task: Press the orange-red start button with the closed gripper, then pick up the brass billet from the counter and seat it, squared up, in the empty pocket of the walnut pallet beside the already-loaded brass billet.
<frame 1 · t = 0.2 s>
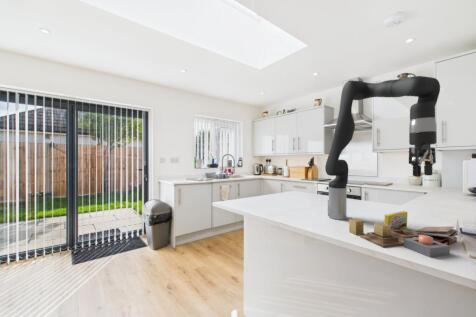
hand: (422, 175, 77), 27 cm above the countertop, fingers open, 8 cm apart
button housing: (425, 250, 77), on the countertop
start button: (425, 241, 78), point 3 cm above the countertop, slide at 0.0 cm
candy box: (395, 231, 99), on the countertop
billet: (356, 233, 96), on the countertop
loaded billet: (382, 240, 87), resting on pallet
pallet: (393, 239, 88), on the countertop
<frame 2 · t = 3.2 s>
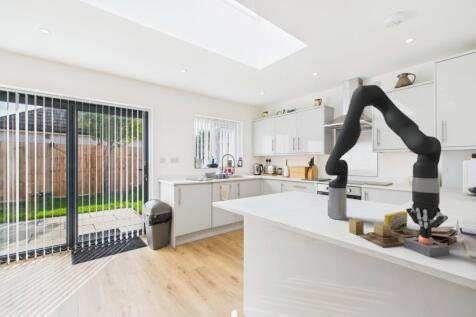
hand: (425, 237, 77), 5 cm above the countertop, fingers closed
start button: (425, 242, 78), point 3 cm above the countertop, slide at 0.2 cm, touching gripper
everything else where it was.
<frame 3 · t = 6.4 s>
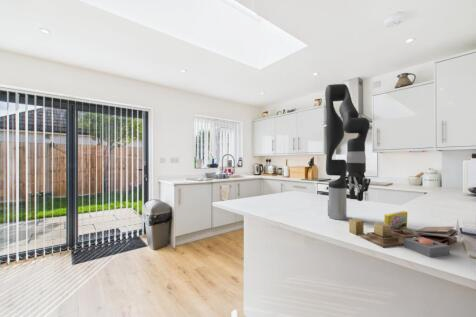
hand: (356, 199, 96), 15 cm above the countertop, fingers open, 4 cm apart
start button: (425, 244, 77), point 2 cm above the countertop, slide at 1.2 cm
everything else where it was.
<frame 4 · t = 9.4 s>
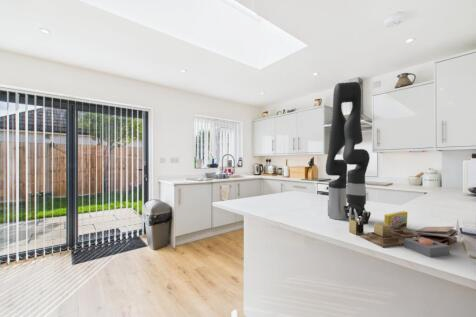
hand: (356, 230, 96), 1 cm above the countertop, fingers closed on billet, 4 cm apart
billet: (356, 233, 96), on the countertop, touching gripper
everything else where it was.
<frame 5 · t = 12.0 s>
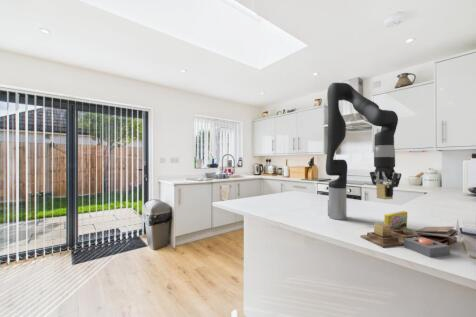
hand: (384, 195, 91), 18 cm above the countertop, fingers closed on billet, 4 cm apart
billet: (384, 198, 91), point 17 cm above the countertop, touching gripper
everything else where it was.
when the fingers open (3 cm above the countertop, at t = 14.8 s): billet drops 2 cm, resting on pallet.
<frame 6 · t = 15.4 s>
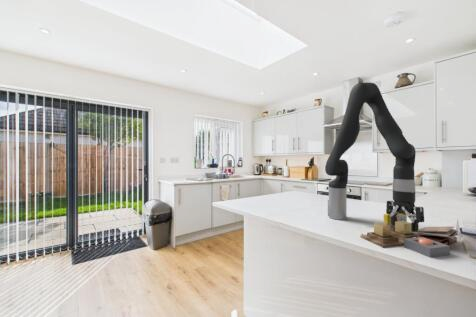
hand: (403, 228, 89), 4 cm above the countertop, fingers open, 8 cm apart
candy box: (395, 230, 99), on the countertop, touching gripper
billet: (403, 236, 89), point 1 cm above the countertop, touching pallet
everything else where it was.
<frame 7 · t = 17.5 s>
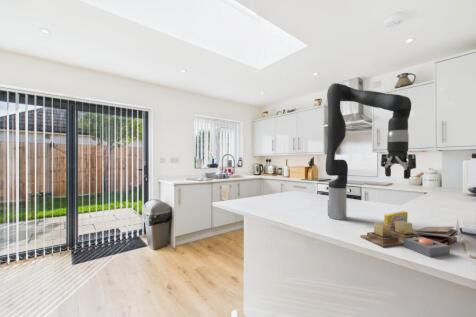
hand: (397, 177, 94), 25 cm above the countertop, fingers open, 8 cm apart
candy box: (395, 231, 99), on the countertop
everything else where it was.
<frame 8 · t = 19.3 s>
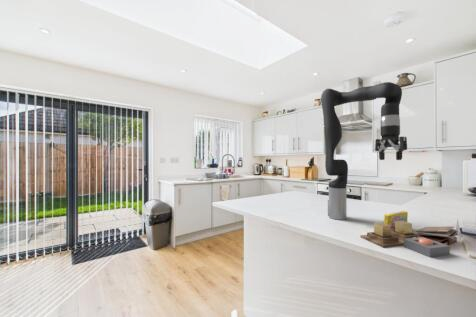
hand: (390, 159, 100), 33 cm above the countertop, fingers open, 8 cm apart
nothing on the countertop moved.
at the end: start button slide at 1.2 cm; billet 0.1 cm from the target spot on the pallet, point 0.8 cm above the pallet's base; billet tilted 0° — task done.
